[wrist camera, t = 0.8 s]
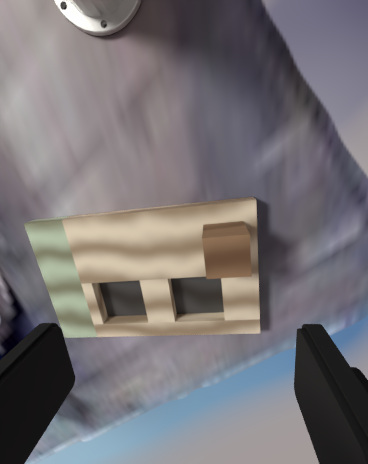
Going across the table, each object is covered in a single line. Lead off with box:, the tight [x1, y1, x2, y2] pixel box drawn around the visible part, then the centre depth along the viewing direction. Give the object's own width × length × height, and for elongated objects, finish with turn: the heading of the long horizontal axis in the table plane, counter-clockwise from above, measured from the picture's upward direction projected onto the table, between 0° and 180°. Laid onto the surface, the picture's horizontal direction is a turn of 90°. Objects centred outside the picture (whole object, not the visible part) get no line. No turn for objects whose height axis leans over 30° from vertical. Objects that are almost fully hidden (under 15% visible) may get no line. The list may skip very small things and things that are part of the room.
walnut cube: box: [202, 221, 252, 279], centre depth 32 cm, size 6×6×6 cm
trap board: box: [24, 197, 260, 338], centre depth 40 cm, size 24×38×2 cm, turn 97°
